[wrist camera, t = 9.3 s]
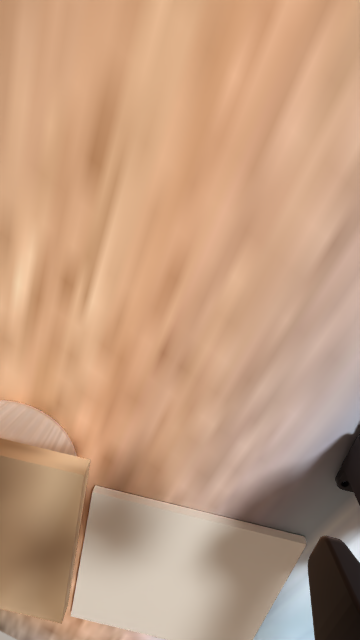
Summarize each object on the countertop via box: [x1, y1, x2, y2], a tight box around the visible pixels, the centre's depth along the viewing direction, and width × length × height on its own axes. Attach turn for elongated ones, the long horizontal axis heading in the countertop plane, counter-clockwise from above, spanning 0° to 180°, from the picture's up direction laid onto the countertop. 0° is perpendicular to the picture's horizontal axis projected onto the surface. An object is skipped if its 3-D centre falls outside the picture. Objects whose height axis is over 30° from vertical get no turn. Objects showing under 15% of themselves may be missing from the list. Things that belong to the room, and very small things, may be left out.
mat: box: [71, 485, 307, 640], centre depth 28 cm, size 16×16×1 cm
